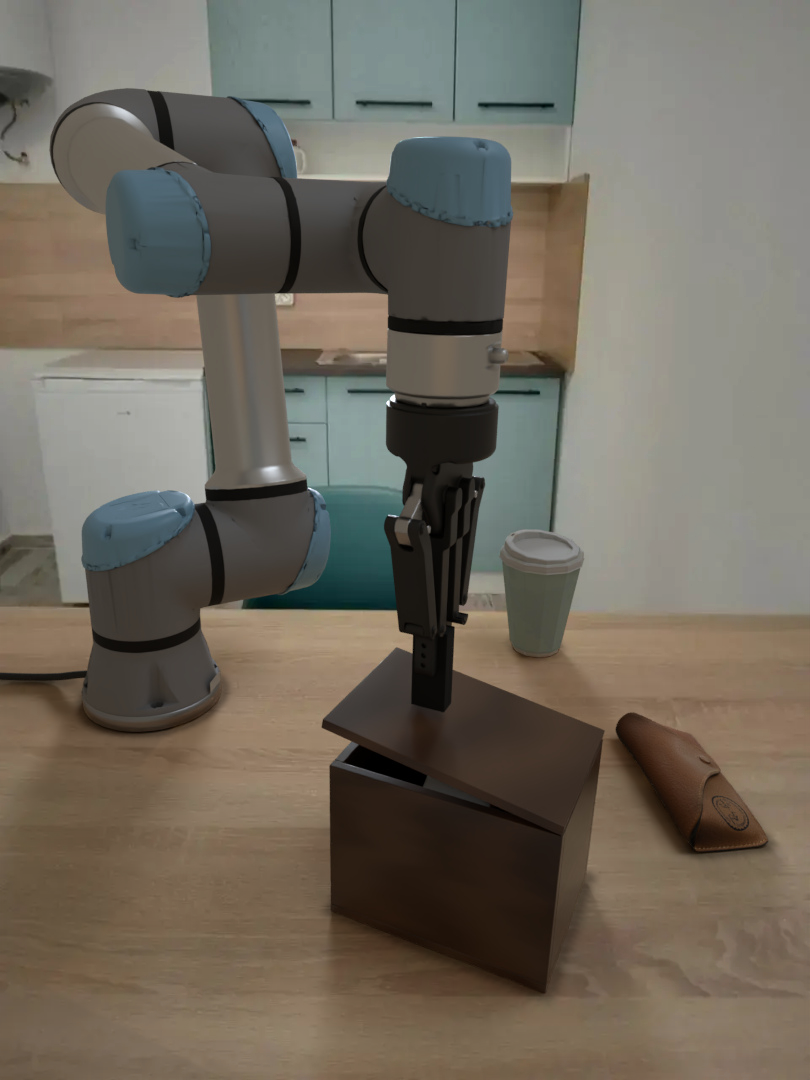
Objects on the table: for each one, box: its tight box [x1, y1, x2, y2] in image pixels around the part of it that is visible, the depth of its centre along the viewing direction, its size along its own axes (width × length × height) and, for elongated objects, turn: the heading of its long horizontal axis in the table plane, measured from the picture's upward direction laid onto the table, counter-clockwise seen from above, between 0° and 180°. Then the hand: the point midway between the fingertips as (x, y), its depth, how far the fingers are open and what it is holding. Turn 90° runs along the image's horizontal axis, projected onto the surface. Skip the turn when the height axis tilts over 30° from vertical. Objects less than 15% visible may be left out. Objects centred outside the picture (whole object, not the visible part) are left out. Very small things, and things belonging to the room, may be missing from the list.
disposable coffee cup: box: [498, 529, 585, 658], centre depth 107 cm, size 11×11×15 cm
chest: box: [328, 738, 604, 994], centre depth 66 cm, size 18×13×14 cm
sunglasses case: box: [615, 711, 769, 853], centre depth 81 cm, size 18×7×7 cm
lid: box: [321, 646, 606, 836], centre depth 63 cm, size 18×13×1 cm
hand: (431, 703), depth 63 cm, fingers closed
